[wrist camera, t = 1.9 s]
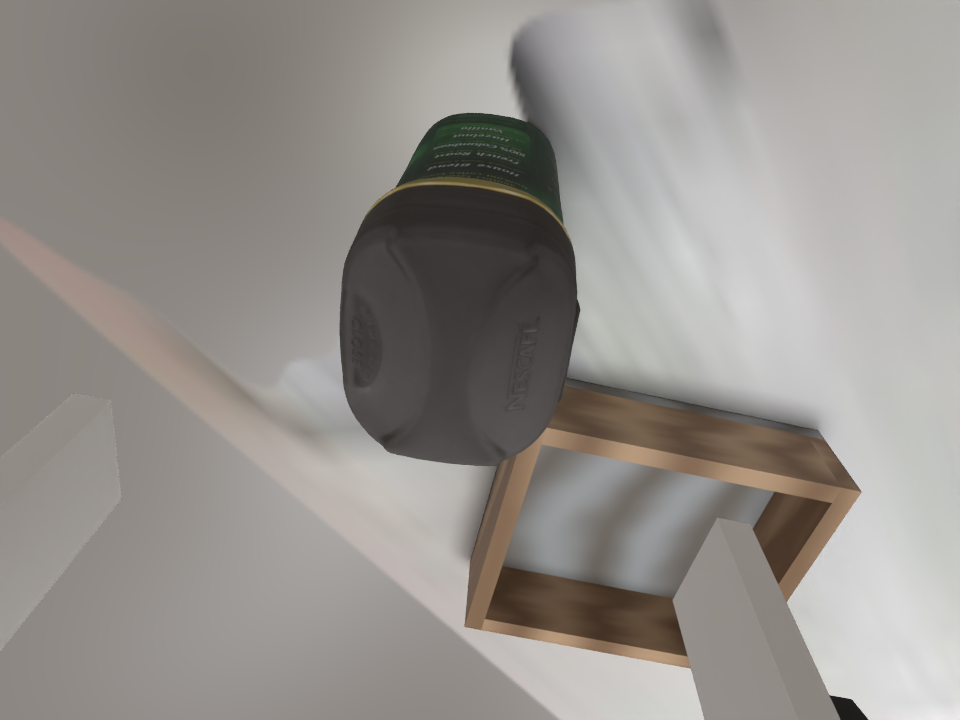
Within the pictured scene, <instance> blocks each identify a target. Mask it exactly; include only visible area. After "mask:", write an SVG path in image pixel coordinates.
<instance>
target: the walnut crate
mask: <svg viewBox="0 0 960 720" xmlns="http://www.w3.org/2000/svg"><path fill="white" fill-rule="evenodd" d="M860 494H861V490H860V489H859V487H858V486H857V485H856V483H855V482H854V480H853V479H852V478H851V476H850V475H849V473H848V472H847V470H846V469H845V468H844V466H843V465H842V463H841V462H840V461H839V459H838V458H837V456H836V455H835V454H834V452H833V451H832V449H831V448H830V447H829V445H828V444H827V442H826V441H825V440H824V438H823V437H822V435H821V434H820V432H819V431H817V430H812V429H807V428H803V427H798V426H793V425H788V424H783V423H779V422H774V421H769V420H764V419H759V418H755V417H750V416H745V415H740V414H735V413H731V412H726V411H721V410H716V409H711V408H707V407H702V406H697V405H692V404H688V403H683V402H678V401H673V400H668V399H664V398H659V397H654V396H649V395H644V394H640V393H635V392H630V391H625V390H620V389H616V388H611V387H606V386H601V385H596V384H592V383H587V382H582V381H577V380H573V379H568V378H566V380H565V386H564V392H563V397H562V399H561V400H560V402H559V403H558V404H557V405H556V408H555V411H554V414H553V417H552V419H551V421H550V423H549V424H548V426H547V428H546V429H545V431H544V432H543V433H542V434H541V436H540V437H539V438H538V439H537V440H536V441H535V442H534V443H533V444H532V445H530V446H529V447H528V448H527V449H525V450H524V451H523V452H521V453H519V454H517V455H515V456H514V457H512V458H509V459H507V460H504V461H502V462H501V463H499V464H498V466H497V470H496V473H495V477H494V480H493V484H492V487H491V491H490V494H489V498H488V501H487V505H486V508H485V512H484V515H483V519H482V522H481V526H480V529H479V533H478V536H477V540H476V543H475V547H474V550H473V554H472V557H471V561H470V571H469V583H468V594H467V606H466V618H465V627H468V628H473V629H479V630H484V631H490V632H495V633H500V634H506V635H511V636H517V637H522V638H528V639H533V640H539V641H544V642H549V643H555V644H560V645H566V646H571V647H577V648H582V649H588V650H593V651H598V652H604V653H609V654H615V655H620V656H626V657H631V658H636V659H642V660H647V661H653V662H658V663H664V664H669V665H675V666H680V667H685V668H691V667H690V663H689V659H688V656H687V652H686V648H685V645H684V641H683V637H682V634H681V630H680V626H679V622H678V619H677V615H676V611H675V608H674V604H673V598H674V597H675V595H676V593H677V591H678V589H679V587H680V585H681V584H682V582H683V580H684V578H685V576H686V574H687V573H688V571H689V569H690V567H691V565H692V563H693V561H694V560H695V558H696V556H697V554H698V552H699V550H700V549H701V547H702V545H703V543H704V541H705V539H706V537H707V536H708V534H709V532H710V530H711V528H712V526H713V525H714V523H715V521H716V519H717V518H721V519H726V520H732V521H737V522H742V523H747V524H751V527H752V529H753V531H754V533H755V535H756V537H757V540H758V542H759V544H760V546H761V548H762V550H763V553H764V555H765V557H766V559H767V561H768V564H769V566H770V568H771V570H772V572H773V574H774V577H775V579H776V581H777V583H778V585H779V587H780V590H781V592H782V594H783V596H784V598H785V600H786V602H787V601H788V599H789V598H790V596H791V595H792V593H793V592H794V590H795V589H796V587H797V586H798V584H799V583H800V582H801V580H802V579H803V577H804V576H805V574H806V573H807V571H808V570H809V568H810V567H811V565H812V564H813V562H814V561H815V560H816V558H817V557H818V555H819V554H820V552H821V551H822V549H823V548H824V546H825V545H826V543H827V542H828V541H829V539H830V538H831V536H832V535H833V533H834V532H835V530H836V529H837V527H838V526H839V524H840V523H841V521H842V520H843V519H844V517H845V516H846V514H847V513H848V511H849V510H850V508H851V507H852V505H853V504H854V502H855V501H856V499H857V498H858V497H859V495H860Z"/></svg>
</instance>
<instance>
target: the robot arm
mask: <svg viewBox="0 0 960 720" xmlns="http://www.w3.org/2000/svg"><path fill="white" fill-rule="evenodd" d="M120 500H121V490H120V480H119V470H118V460H117V451H116V441H115V433H114V422H113V413H112V403H111V400H106V399H101V398H96V397H91V396H85V395H80V394H75V393H73V394H72V395H71V396H70V397H69V398H67V399H66V400H65V401H64V402H63V403H62V404H61V405H60V406H58V407H57V408H56V409H55V410H54V411H53V412H51V413H50V414H49V415H48V416H47V417H46V418H45V419H43V420H42V421H41V422H40V423H39V424H38V425H37V426H36V427H34V428H33V429H32V430H31V431H30V432H29V433H28V434H26V435H25V436H24V437H23V438H22V439H21V440H20V441H18V442H17V443H16V444H15V445H14V446H13V447H12V448H10V449H9V450H8V451H7V452H6V453H5V454H4V455H3V456H1V457H0V651H1V650H2V648H3V647H4V646H5V645H6V643H7V642H8V641H9V639H10V638H11V637H12V636H13V635H14V633H15V632H16V630H18V628H19V627H20V626H21V625H22V623H23V622H24V621H25V620H26V618H27V617H28V616H29V614H30V613H31V612H32V611H33V610H34V608H35V607H36V606H37V604H38V603H39V602H40V601H41V599H42V598H43V597H44V596H45V594H46V593H47V592H48V591H49V589H50V588H51V587H52V586H53V584H54V583H55V582H56V580H57V579H58V578H59V577H60V576H61V574H62V573H63V572H64V571H65V569H66V568H67V567H68V566H69V564H70V563H71V562H72V560H73V559H74V558H75V557H76V555H77V554H78V553H79V552H80V550H81V549H82V548H83V547H84V545H85V544H86V543H87V542H88V540H89V539H90V538H91V537H92V535H93V534H94V533H95V532H96V530H97V529H98V528H99V526H100V525H101V524H102V523H103V522H104V520H105V519H106V518H107V517H108V515H109V514H110V513H111V511H112V510H113V509H114V508H115V506H116V505H117V504H118V503H119V501H120ZM673 604H674V608H675V611H676V615H677V619H678V622H679V626H680V630H681V634H682V637H683V641H684V645H685V648H686V652H687V656H688V659H689V663H690V667H691V671H692V674H693V678H694V682H695V685H696V689H697V693H698V696H699V700H700V704H701V708H702V711H703V715H704V719H705V720H868V719H867V717H866V716H865V715H864V714H863V713H862V711H861V710H860V709H859V708H858V707H857V705H856V704H855V703H854V702H853V700H852V699H847V698H841V697H836V696H830V695H829V694H828V691H827V689H826V687H825V685H824V683H823V681H822V678H821V676H820V674H819V672H818V670H817V668H816V665H815V663H814V661H813V659H812V657H811V655H810V652H809V650H808V648H807V646H806V644H805V642H804V639H803V637H802V635H801V633H800V631H799V629H798V626H797V624H796V622H795V620H794V618H793V616H792V613H791V611H790V609H789V607H788V605H787V603H786V600H785V598H784V596H783V594H782V592H781V590H780V587H779V585H778V583H777V581H776V579H775V577H774V574H773V572H772V570H771V568H770V566H769V564H768V561H767V559H766V557H765V555H764V553H763V550H762V548H761V546H760V544H759V542H758V540H757V537H756V535H755V533H754V531H753V529H752V527H751V524H747V523H742V522H737V521H732V520H726V519H721V518H717V519H716V521H715V523H714V525H713V526H712V528H711V530H710V532H709V534H708V536H707V537H706V539H705V541H704V543H703V545H702V547H701V549H700V550H699V552H698V554H697V556H696V558H695V560H694V561H693V563H692V565H691V567H690V569H689V571H688V573H687V574H686V576H685V578H684V580H683V582H682V584H681V585H680V587H679V589H678V591H677V593H676V595H675V597H674V598H673Z"/></svg>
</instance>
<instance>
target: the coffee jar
mask: <svg viewBox="0 0 960 720" xmlns="http://www.w3.org/2000/svg"><path fill="white" fill-rule="evenodd" d="M579 313H580V306H579V303H578V300H577V284H576V265H575V256H574V251H573V247H572V243H571V240H570V238H569V235H568V233H567V231H566V229H565V227H564V225H563V217H562V210H561V203H560V195H559V184H558V173H557V165H556V159H555V155H554V152H553V149H552V146H551V144H550V142H549V141H548V139H547V138H546V136H545V135H544V134H543V133H542V132H541V131H540V130H539V129H537V128H536V127H534V126H533V125H531V124H529V123H527V122H524V121H522V120H518V119H515V118H511V117H505V116H499V115H493V114H483V113H464V114H456V115H451V116H448V117H446V118H444V119H442V120H440V121H438V122H437V123H436V124H434V125H433V126H432V127H431V128H430V129H429V130H428V132H427V133H426V134H425V136H424V138H423V139H422V140H421V142H420V143H419V145H418V147H417V149H416V151H415V153H414V154H413V156H412V158H411V161H410V163H409V165H408V167H407V169H406V170H405V172H404V174H403V176H402V177H401V179H400V181H399V183H398V185H397V186H396V188H394V189H392V190H391V191H390V192H388V193H386V194H385V195H384V196H382V198H380V199H379V200H378V201H377V202H376V203H375V204H374V205H373V206H372V207H371V209H370V210H369V211H368V213H367V214H366V216H365V218H364V220H363V222H362V224H361V226H360V228H359V230H358V233H357V235H356V237H355V240H354V241H353V244H352V246H351V248H350V250H349V253H348V255H347V258H346V261H345V265H344V270H343V277H342V291H341V305H340V348H341V362H342V371H343V384H344V390H345V394H346V398H347V401H348V404H349V406H350V408H351V410H352V412H353V414H354V416H355V417H356V419H357V420H358V422H359V423H360V424H361V426H362V427H363V428H364V429H365V430H366V431H367V433H368V434H369V435H370V436H371V437H372V438H374V439H375V440H376V441H377V442H378V443H380V444H381V445H382V446H383V447H384V448H385V449H386V450H387V451H388V452H390V453H393V454H397V455H402V456H407V457H411V458H416V459H422V460H429V461H435V462H443V463H451V464H461V465H475V466H495V465H497V464H499V463H501V462H502V461H504V460H507V459H509V458H512V457H514V456H515V455H517V454H519V453H521V452H523V451H524V450H525V449H527V448H528V447H529V446H530V445H532V444H533V443H534V442H535V441H536V440H537V439H538V438H539V437H540V436H541V434H542V433H543V432H544V431H545V429H546V428H547V426H548V424H549V423H550V421H551V419H552V417H553V414H554V411H555V408H556V405H557V404H558V403H559V402H560V400H561V399H562V397H563V392H564V386H565V380H566V375H567V371H568V366H569V361H570V356H571V350H572V345H573V341H574V336H575V332H576V327H577V323H578V318H579Z"/></svg>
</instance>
